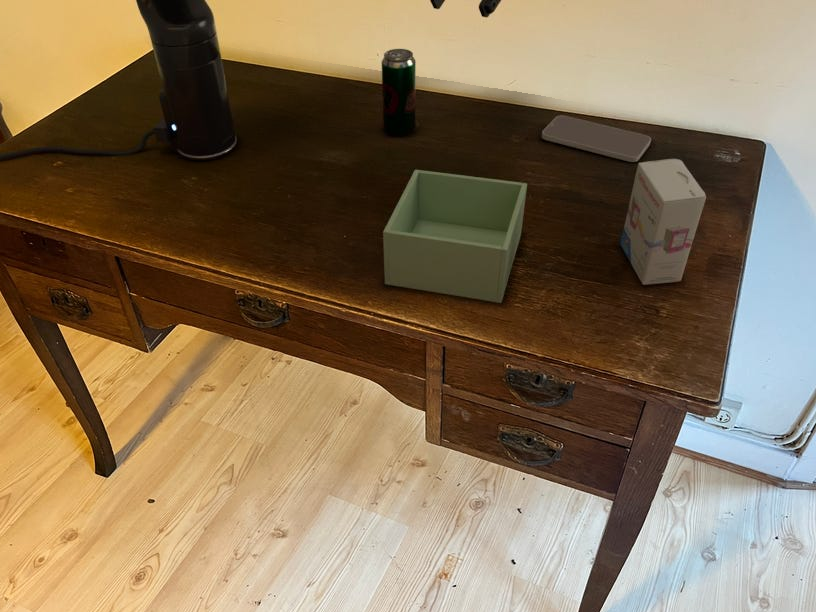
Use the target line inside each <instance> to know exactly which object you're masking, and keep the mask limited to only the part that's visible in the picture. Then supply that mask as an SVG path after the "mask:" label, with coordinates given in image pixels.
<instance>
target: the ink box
mask: <svg viewBox="0 0 816 612" xmlns="http://www.w3.org/2000/svg"><path fill="white" fill-rule="evenodd" d="M706 199H707V196H706V193H705V191H704V190H703V188H702V187H701V186H700V184H699V183H698V182H697V180H696V179H695V177H694V176H693V175H692V173H691V172H690V171H689V169H688V168H687V166H686V165H685V163H684V162H683V161H682V160H681V159H677V158H668V159H667V158H665V159H658V160H657V159H656V160H650V161H643V162H638V164H637V168H636V172H635V176H634V180H633V186H632V190H631V195H630V199H629V204H628V208H627V212H626V218H625V222H624V227H623V231H622V235H621V240H620V244H619V245H620V247H621V249H622V251H623V253H624V254H625V256H626V257H627V260H628V261H629V263H630V264H631V266H632V269H633V270H634V272H635V274H636V275H637V277H638V279H639V281H640V282H641V284H642V285H643V286H645V285H646V286H647V285H658V284H667V283H668V284H669V283H678V282H681V281H682V280H683V279H682V278H683V275H684V271H685V268H686V265H687V263H688V259H689V255H690V252H691V250H692V245H693V242H694V238H695V236H696V233H697V232H696V231H697V229H698V225H699V223H700V218H701V215H702V212H703V209H704V206H705V203H706Z"/></svg>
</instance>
